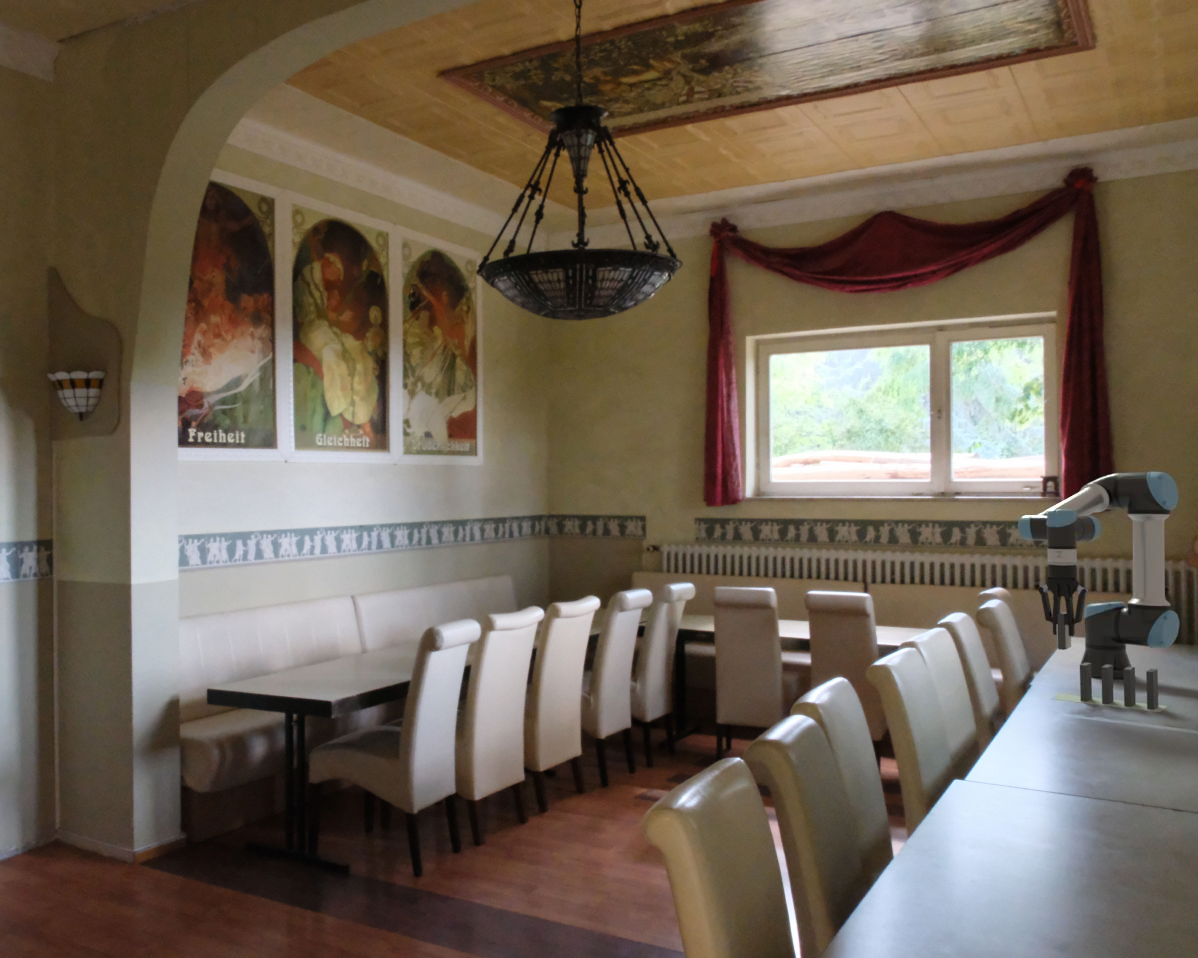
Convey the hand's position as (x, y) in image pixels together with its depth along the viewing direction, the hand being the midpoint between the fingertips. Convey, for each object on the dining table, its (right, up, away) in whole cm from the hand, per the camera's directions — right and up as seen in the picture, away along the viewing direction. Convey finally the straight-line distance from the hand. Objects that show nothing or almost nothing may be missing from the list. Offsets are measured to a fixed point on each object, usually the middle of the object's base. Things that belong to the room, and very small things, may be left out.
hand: (1064, 646), depth 275 cm
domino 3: (+9, -14, -7) cm, 18 cm away
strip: (+9, -15, -7) cm, 18 cm away
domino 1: (0, 0, 0) cm, 0 cm away
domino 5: (+17, -14, -15) cm, 26 cm away
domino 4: (+13, -14, -11) cm, 22 cm away
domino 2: (+4, -14, -4) cm, 15 cm away
